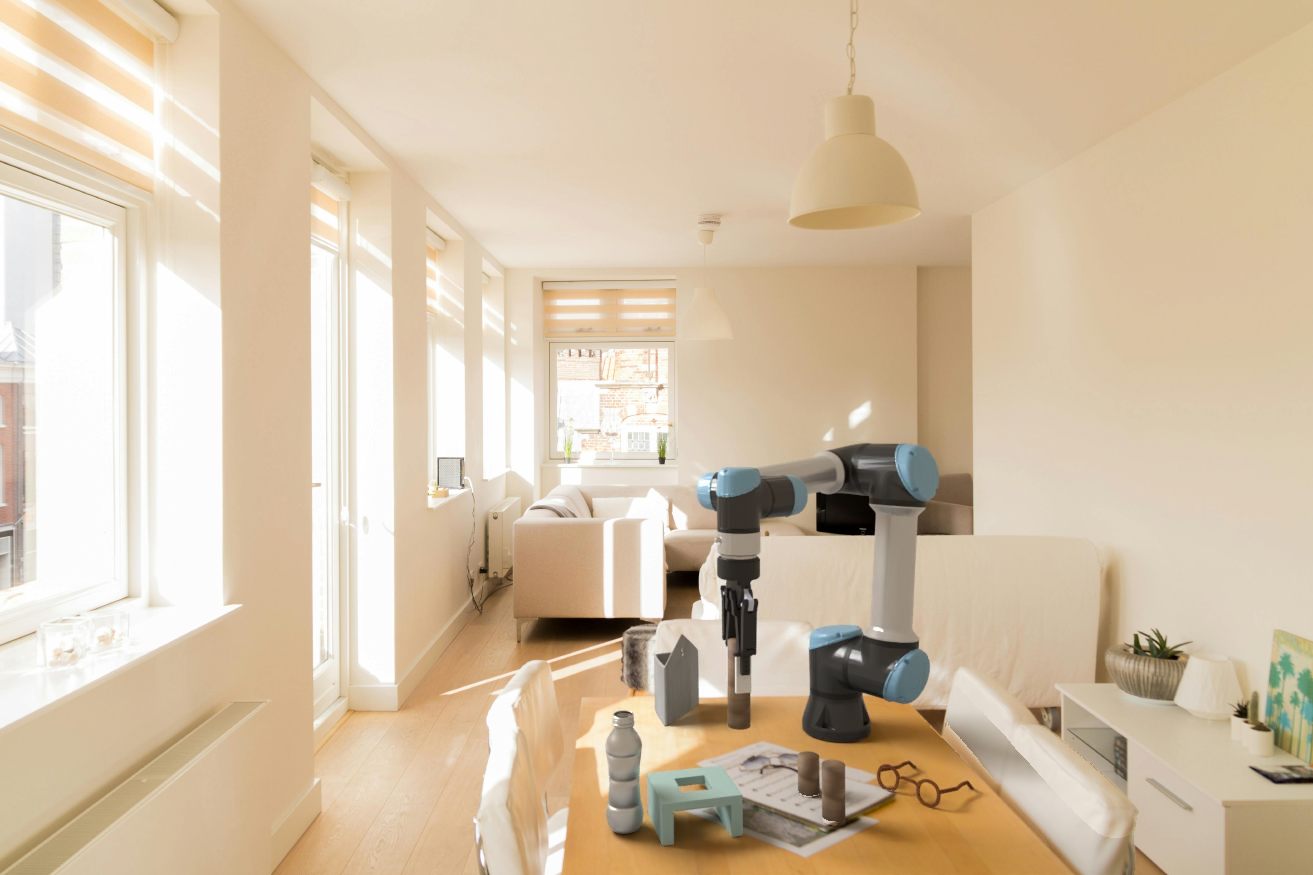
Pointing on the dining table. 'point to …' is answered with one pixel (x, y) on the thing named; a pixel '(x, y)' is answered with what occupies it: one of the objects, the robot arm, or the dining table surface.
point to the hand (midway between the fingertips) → (738, 687)
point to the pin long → (736, 695)
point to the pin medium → (833, 791)
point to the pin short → (808, 773)
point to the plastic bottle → (624, 775)
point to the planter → (676, 681)
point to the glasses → (916, 783)
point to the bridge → (693, 798)
